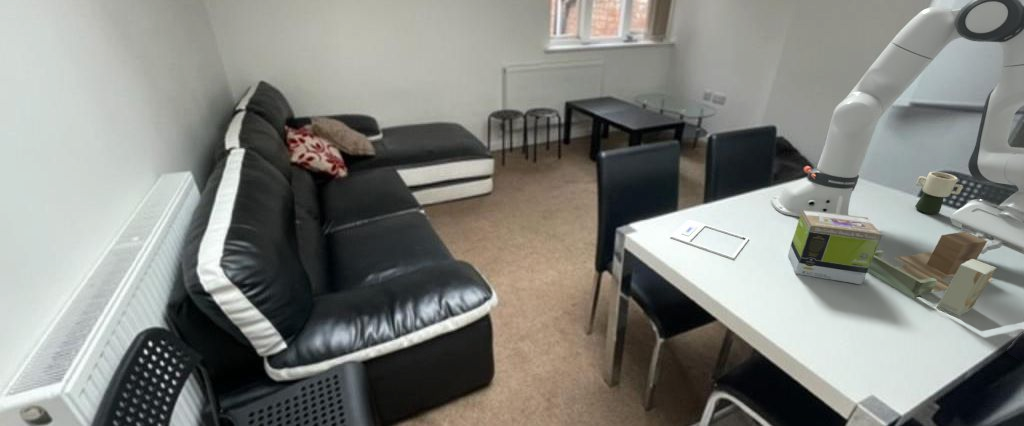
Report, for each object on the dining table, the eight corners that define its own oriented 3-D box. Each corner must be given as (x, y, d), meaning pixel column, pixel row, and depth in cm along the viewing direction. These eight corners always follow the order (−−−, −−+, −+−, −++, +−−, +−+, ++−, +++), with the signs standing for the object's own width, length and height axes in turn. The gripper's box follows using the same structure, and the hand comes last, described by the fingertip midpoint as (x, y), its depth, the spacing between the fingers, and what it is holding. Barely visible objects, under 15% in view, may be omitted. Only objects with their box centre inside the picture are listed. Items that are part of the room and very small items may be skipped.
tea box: (848, 265, 118) (869, 216, 112) (861, 286, 110) (884, 235, 103) (786, 255, 123) (802, 207, 116) (793, 274, 114) (811, 224, 107)
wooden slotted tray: (932, 254, 123) (939, 240, 121) (991, 283, 111) (1000, 268, 109) (859, 266, 118) (865, 252, 116) (913, 298, 106) (921, 282, 104)
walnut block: (948, 260, 119) (964, 231, 115) (970, 270, 115) (987, 241, 111) (926, 264, 117) (941, 235, 113) (947, 274, 113) (963, 244, 109)
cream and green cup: (948, 213, 147) (967, 177, 141) (945, 220, 142) (964, 183, 137) (907, 203, 154) (923, 168, 148) (903, 209, 150) (920, 173, 144)
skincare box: (958, 319, 99) (985, 274, 93) (934, 308, 102) (959, 264, 97) (971, 311, 102) (998, 267, 96) (947, 300, 105) (972, 257, 99)
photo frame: (689, 218, 140) (749, 237, 130) (688, 221, 141) (748, 240, 130) (670, 235, 130) (734, 257, 120) (669, 238, 131) (733, 260, 120)
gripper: (973, 190, 121) (930, 225, 123) (1073, 224, 103) (1021, 265, 105) (977, 203, 124) (935, 237, 126) (1075, 239, 106) (1024, 277, 108)
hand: (975, 250), depth 115 cm, fingers closed
